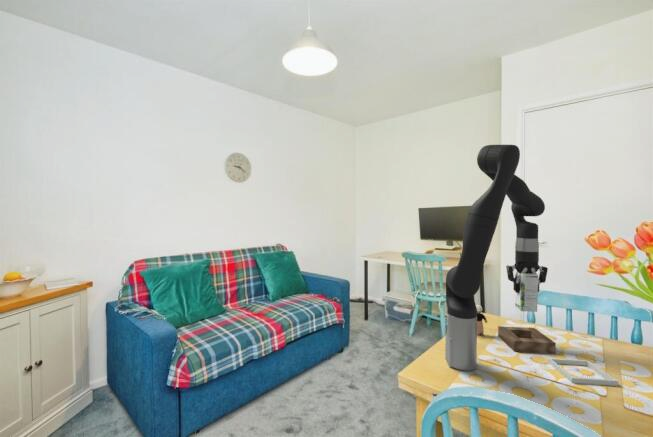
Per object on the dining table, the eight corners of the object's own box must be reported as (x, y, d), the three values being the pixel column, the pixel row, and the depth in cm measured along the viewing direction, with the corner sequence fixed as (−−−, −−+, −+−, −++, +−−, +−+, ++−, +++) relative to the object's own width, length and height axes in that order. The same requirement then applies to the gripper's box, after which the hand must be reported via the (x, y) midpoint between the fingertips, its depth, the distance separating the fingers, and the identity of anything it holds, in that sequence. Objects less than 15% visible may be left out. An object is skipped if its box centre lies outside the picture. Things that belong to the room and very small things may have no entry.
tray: (571, 382, 91) (571, 378, 91) (547, 362, 103) (547, 357, 103) (617, 386, 89) (617, 381, 89) (587, 364, 101) (587, 360, 101)
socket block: (514, 351, 111) (514, 340, 111) (498, 335, 125) (498, 326, 125) (555, 353, 109) (555, 343, 109) (534, 337, 123) (534, 328, 123)
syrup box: (514, 306, 119) (514, 270, 119) (530, 307, 118) (530, 271, 118) (521, 311, 114) (521, 273, 113) (538, 312, 113) (538, 274, 112)
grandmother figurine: (481, 331, 129) (481, 302, 129) (488, 335, 125) (488, 305, 125) (467, 334, 127) (467, 304, 126) (474, 337, 123) (474, 307, 123)
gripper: (511, 250, 113) (510, 294, 113) (553, 251, 111) (552, 296, 111) (502, 248, 120) (502, 289, 121) (541, 248, 118) (541, 290, 118)
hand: (526, 292), depth 116 cm, fingers closed on syrup box, 6 cm apart
